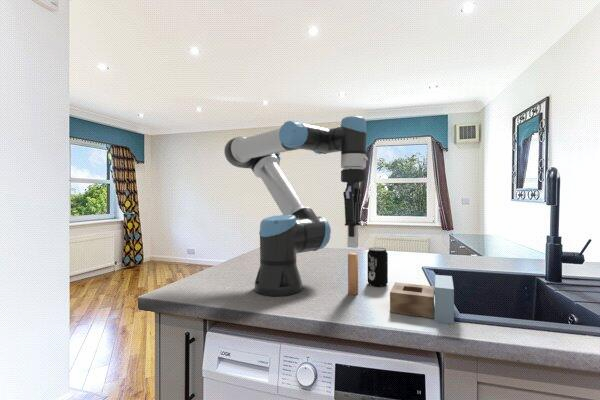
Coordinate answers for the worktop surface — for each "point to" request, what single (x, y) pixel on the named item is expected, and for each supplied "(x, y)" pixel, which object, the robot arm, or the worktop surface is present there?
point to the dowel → (352, 273)
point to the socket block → (412, 299)
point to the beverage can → (377, 267)
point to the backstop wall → (444, 299)
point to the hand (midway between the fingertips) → (352, 246)
